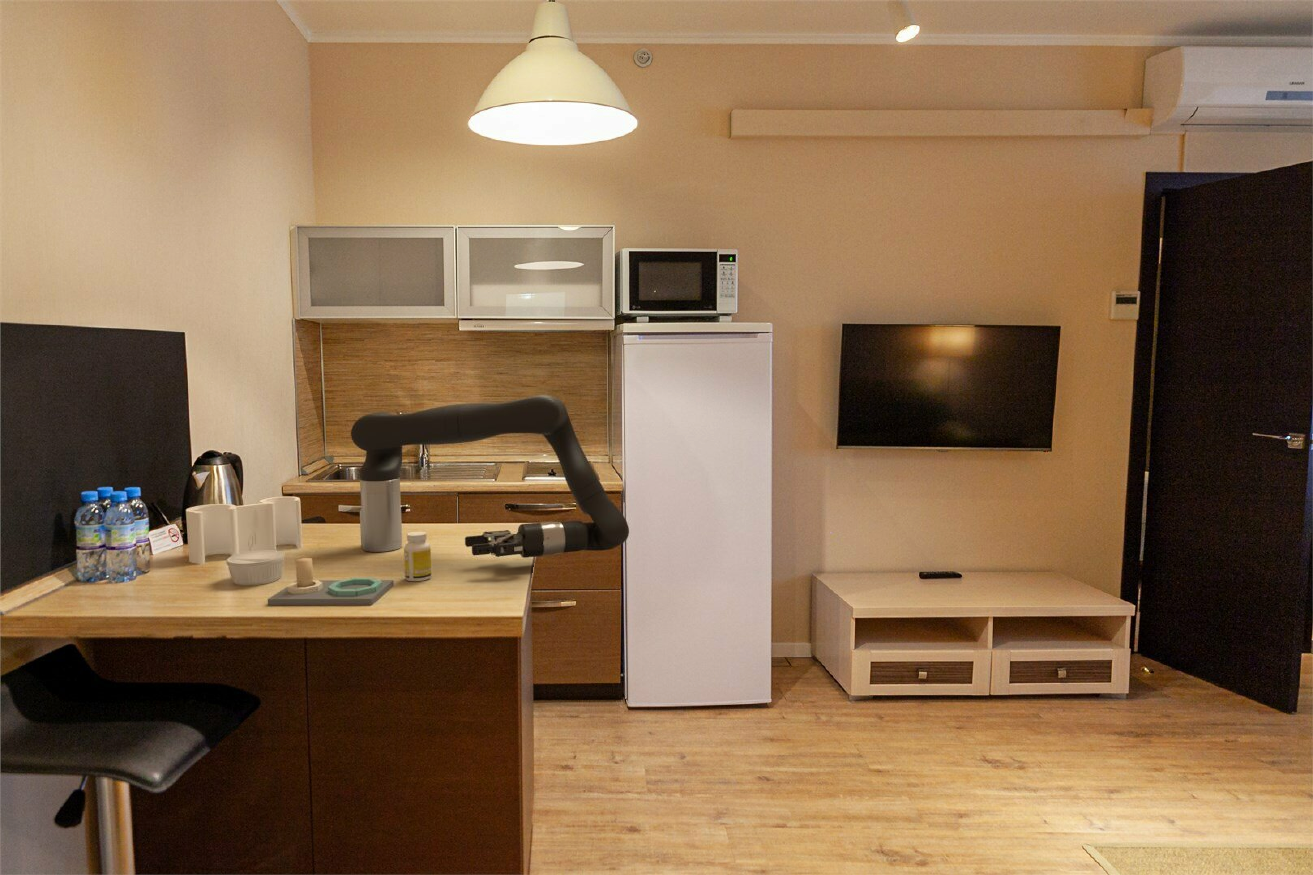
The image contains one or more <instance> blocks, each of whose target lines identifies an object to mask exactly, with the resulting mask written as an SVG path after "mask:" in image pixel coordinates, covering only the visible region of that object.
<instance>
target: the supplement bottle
mask: <svg viewBox="0 0 1313 875" xmlns="http://www.w3.org/2000/svg"><path fill="white" fill-rule="evenodd" d="M427 538H428V535H427V532H425V531H412V532H411V531H410V532H408V533H406V540H407V542H408V543H406V544H405V545H404V546H403V554H404V555H403V557H404V559H403V560H404V577H405V580H406V581H408V582H424V581H427V580H430V579H431V578H432V557H431V554H432V552H431V550H432V549H431V544H430V543H429V542H427V541H426V540H427Z"/></svg>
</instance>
